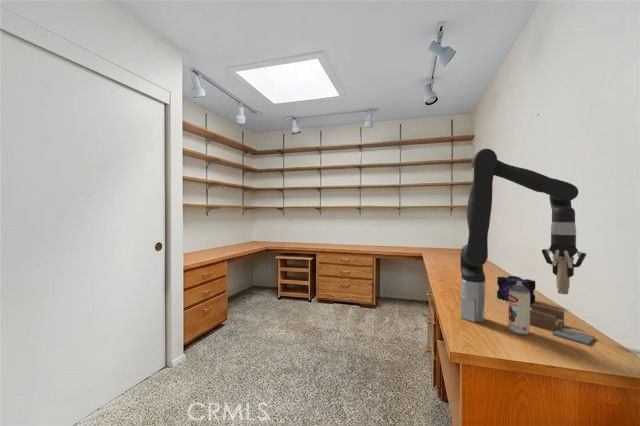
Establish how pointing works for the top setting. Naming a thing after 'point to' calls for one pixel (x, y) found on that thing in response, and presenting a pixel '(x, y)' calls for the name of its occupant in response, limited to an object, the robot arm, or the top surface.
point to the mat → (574, 336)
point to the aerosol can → (519, 309)
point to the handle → (562, 274)
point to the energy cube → (509, 282)
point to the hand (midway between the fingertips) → (563, 275)
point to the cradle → (546, 317)
